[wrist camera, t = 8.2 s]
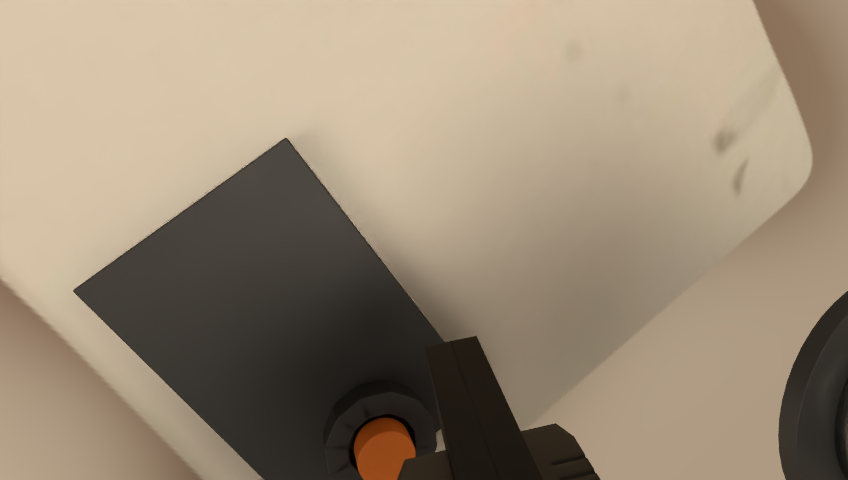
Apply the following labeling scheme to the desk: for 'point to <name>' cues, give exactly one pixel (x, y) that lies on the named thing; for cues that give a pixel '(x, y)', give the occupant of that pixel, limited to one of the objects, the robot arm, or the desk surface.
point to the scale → (275, 322)
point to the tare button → (382, 449)
